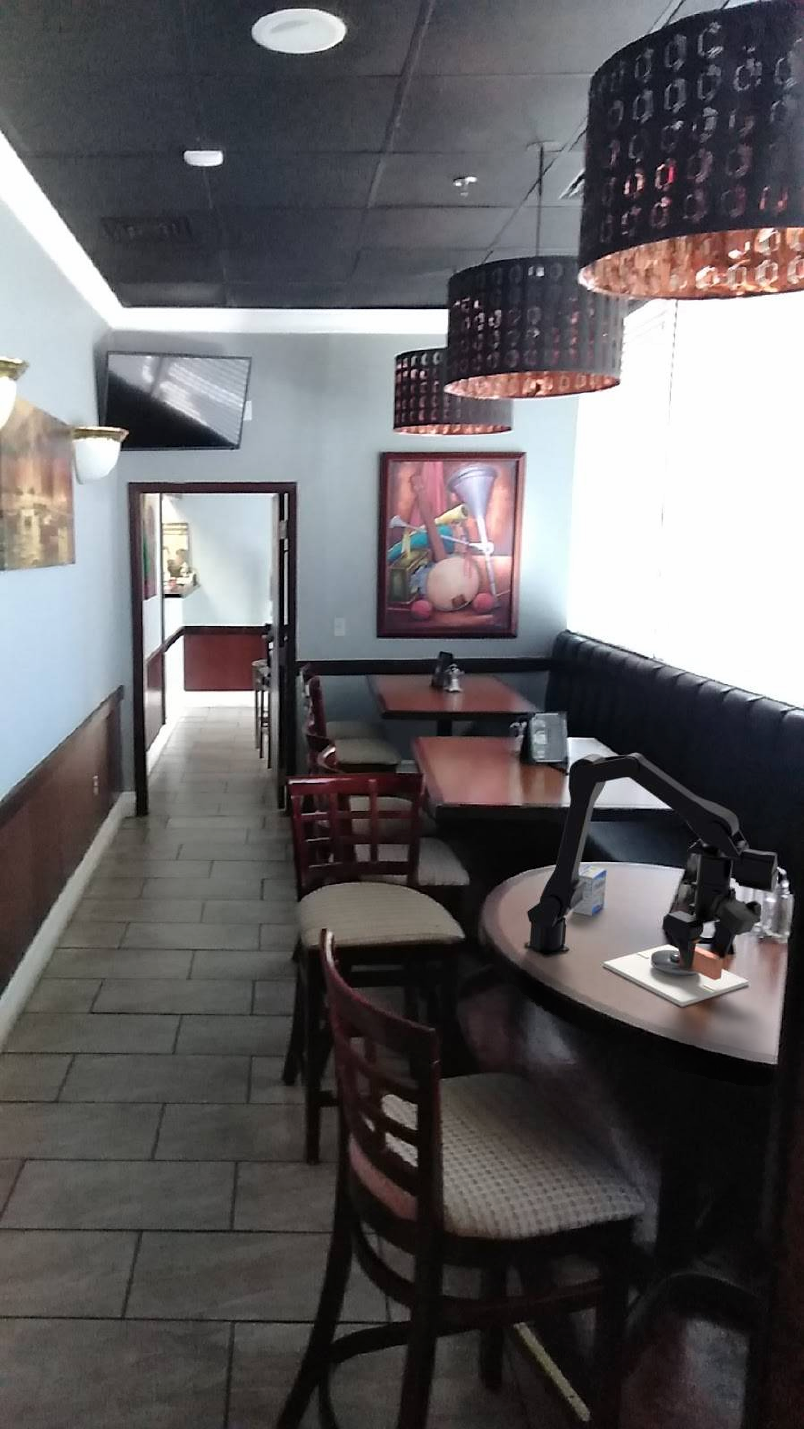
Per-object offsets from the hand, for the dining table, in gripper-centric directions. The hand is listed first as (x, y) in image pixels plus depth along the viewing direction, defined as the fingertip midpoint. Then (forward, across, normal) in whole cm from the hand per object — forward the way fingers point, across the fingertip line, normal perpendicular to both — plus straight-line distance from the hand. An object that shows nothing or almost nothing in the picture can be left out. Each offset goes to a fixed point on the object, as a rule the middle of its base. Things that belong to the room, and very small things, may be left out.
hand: (705, 962), depth 180 cm
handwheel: (+3, 0, +4) cm, 5 cm away
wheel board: (+5, 0, +6) cm, 8 cm away
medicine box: (+5, +10, +40) cm, 41 cm away
